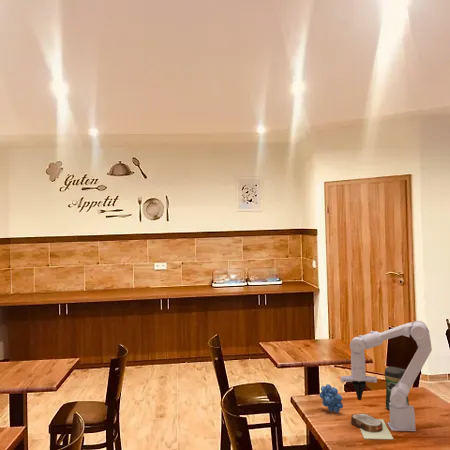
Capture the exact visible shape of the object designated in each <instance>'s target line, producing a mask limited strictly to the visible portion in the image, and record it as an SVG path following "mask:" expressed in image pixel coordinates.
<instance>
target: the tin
mask: <svg viewBox="0 0 450 450" xmlns="http://www.w3.org/2000/svg"><path fill="white" fill-rule="evenodd" d="M350 419H351V421H350V422H351V424H353V425H354V426H356V427H358V428H359V429H360V428H361V429H363V430H364V431H367V432H380V431H382V430H383V428H382V422H381V421H379V420H378V419H379V418H376V417H374V416H372V415H370V414H369V413H368V414H367V413H363V412H362V413H361V412H359V413H354V414H351V418H350Z"/></svg>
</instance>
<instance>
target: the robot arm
mask: <svg viewBox="0 0 450 450" xmlns="http://www.w3.org/2000/svg"><path fill="white" fill-rule="evenodd" d="M400 336H404V337H407V338H410V336H411V338H412V339H413V340H414V341H415V342H416V345H417V349H416V350H415V351H416V352H415V353H414V355H413V357H412V358H411V359H410V362H409V363H408V365H407V367H406V371H405V373H404V374H403V376H402V378H401V380H400V381H399V382H398V384H397V385H396V386H394V387H393V388H392V389H391V395H390V403H389V407H390V410H389V421H388V422H387V426H388V428H389V430H390V431H392V432H393V431H394V432H417V429H416V413H415V407H414V406H413V405H410V404H409V405H408V404H407V402H406V398H407V395H409V393H410V391H411V388H412V387H413V384H414V383H415V381H416V380H417V377H418V376H419V374H420V372H421V371H422V369H423V367H424V366H425V363H426V362H427V360H428V358H429V356H430V355H431V352H432V350H433V348H432V342H431V340H432V339H431V335H430V330H429V329H428V326H427V325H426V323H425V322H423V321H422V320H414V321H413V322H412V321H411V322H407V323H404V324H400V325H398V326H395V327H392V328H390V329H387V330H385V331H382V332H379V331H377V330H375V331H374V330H371V331H369V333H366V334H363V335H362V334H360V335H358V336H355V337H353V338H352V340H351V341H350V343H349V349H350V365H351V366H350V368H351V370H350V371H351V375H345V376H343V375H342V376H341V375H340V382H341V383H352V385H353V388H354V391H355V394H356V398H357V401H362V397H363V393H364V390H365V389H366V386H367V383H375V384H376V383H378V377H377V376H369V375H366V355H365V350H369V349H371V348H375V347H377V346H378V347H379V346H382V345H383V343H384V341H387V340H390V339H393V338H397V337H400Z"/></svg>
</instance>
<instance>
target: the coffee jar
mask: <svg viewBox="0 0 450 450" xmlns="http://www.w3.org/2000/svg"><path fill="white" fill-rule="evenodd" d="M406 369H407V368H406ZM406 369H405V368H401V367H397V366H387V367H385V369H384V379H385V386H386V388H385V389H386V390H385V394H386V395H385V409H387V410H389V411H390V407H389V403H390V395H391V389H392V388H393V387H394V386H396V385H397V384H398V382H399V381H400V380H401V378H402V376H403V374H404V373H405V371H406ZM408 395H409V394H408ZM408 395H407V398H406V402H407V404H408V405H410V404H409V403H410V401H409V396H408Z"/></svg>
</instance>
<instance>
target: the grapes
mask: <svg viewBox="0 0 450 450" xmlns="http://www.w3.org/2000/svg"><path fill="white" fill-rule="evenodd" d="M320 390H321V392H320V393H319V397H320V398H321V400H322V405H323V406H324V407H327V410H328V411H329V412H330V413H333V412H335V413H336V414H338V413H340V410H341V409H343V408H344V405H343V404H344V403H343V402H342V401H343V397H342V395H341V394H339V390H338V389H337V387H335V386H334V387H332V385H331V384H328V383H327V384H326V385H325V386H324V385H322V386H321V387H320Z"/></svg>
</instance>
